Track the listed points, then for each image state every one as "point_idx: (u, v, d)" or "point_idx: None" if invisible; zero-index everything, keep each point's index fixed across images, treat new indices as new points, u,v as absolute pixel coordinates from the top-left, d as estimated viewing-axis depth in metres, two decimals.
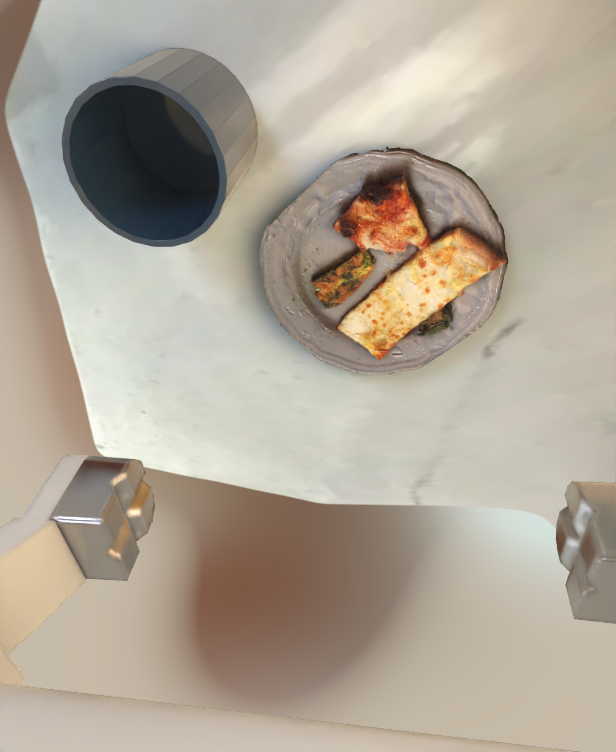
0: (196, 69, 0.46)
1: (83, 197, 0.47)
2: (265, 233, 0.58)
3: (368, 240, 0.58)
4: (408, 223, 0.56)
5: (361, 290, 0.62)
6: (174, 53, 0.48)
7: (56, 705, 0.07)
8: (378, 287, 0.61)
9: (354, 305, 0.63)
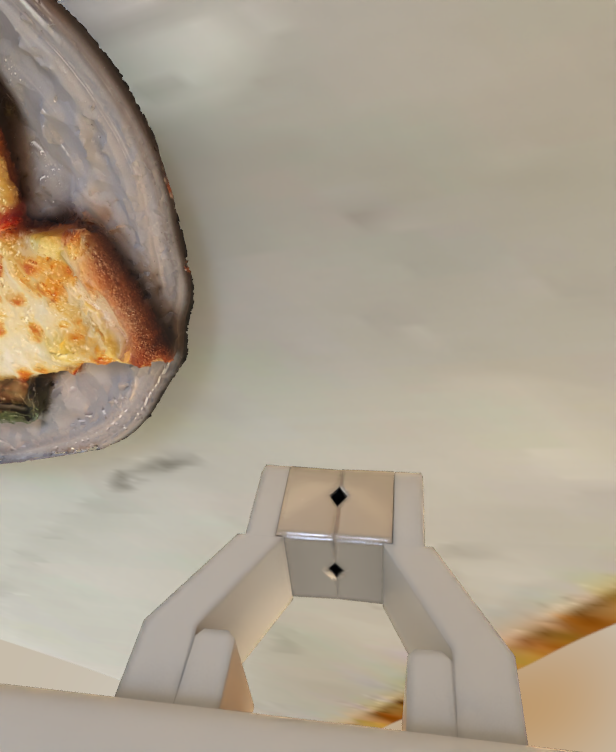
0: None
1: None
2: None
3: None
4: None
5: None
6: None
7: (56, 705, 0.07)
8: None
9: None
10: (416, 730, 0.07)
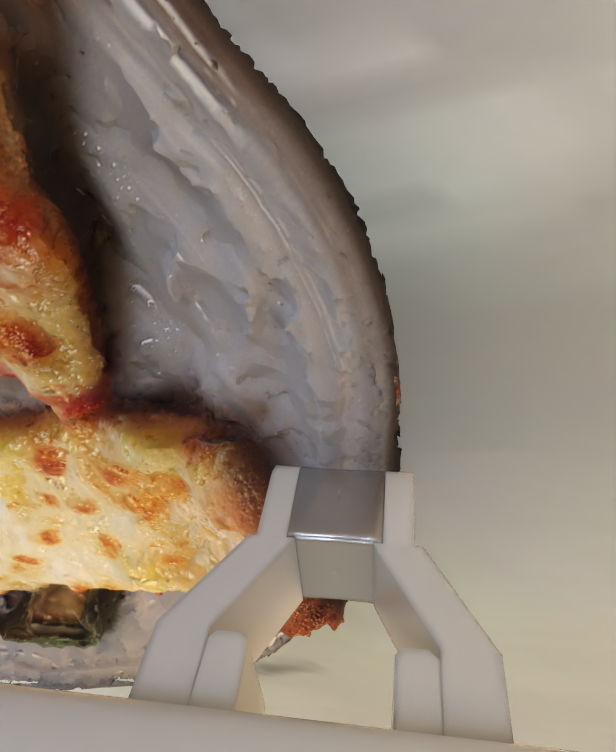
0: None
1: None
2: None
3: None
4: (13, 306, 0.11)
5: None
6: None
7: (56, 705, 0.07)
8: None
9: None
10: (402, 729, 0.07)
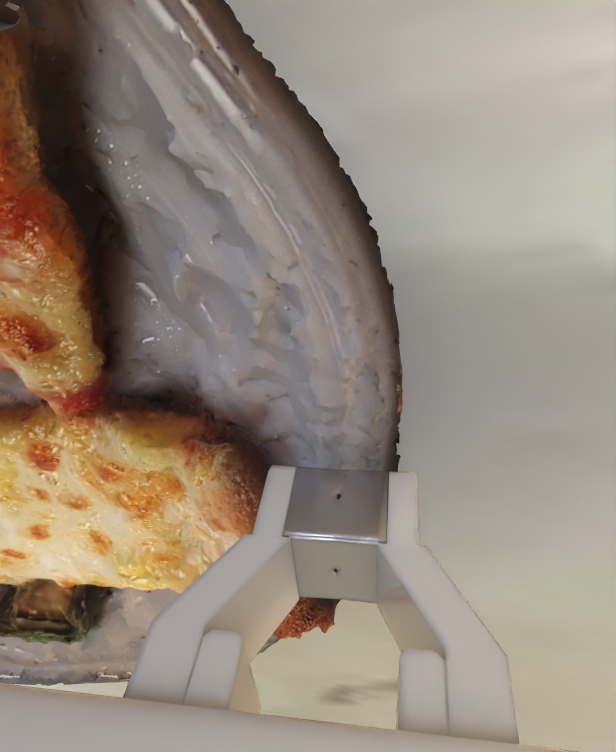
0: None
1: None
2: None
3: None
4: (15, 300, 0.11)
5: None
6: None
7: (56, 705, 0.07)
8: None
9: None
10: (408, 729, 0.07)
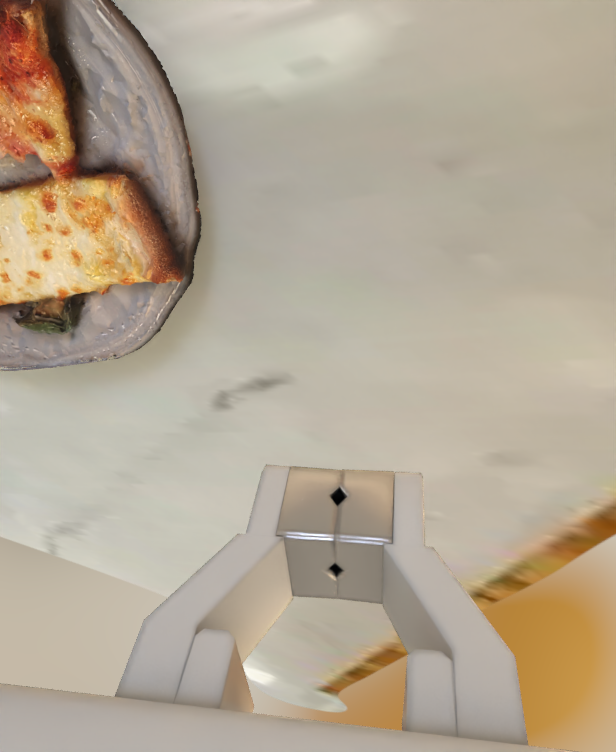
0: None
1: None
2: None
3: None
4: (38, 112, 0.27)
5: None
6: None
7: (56, 705, 0.07)
8: None
9: None
10: (416, 730, 0.07)
